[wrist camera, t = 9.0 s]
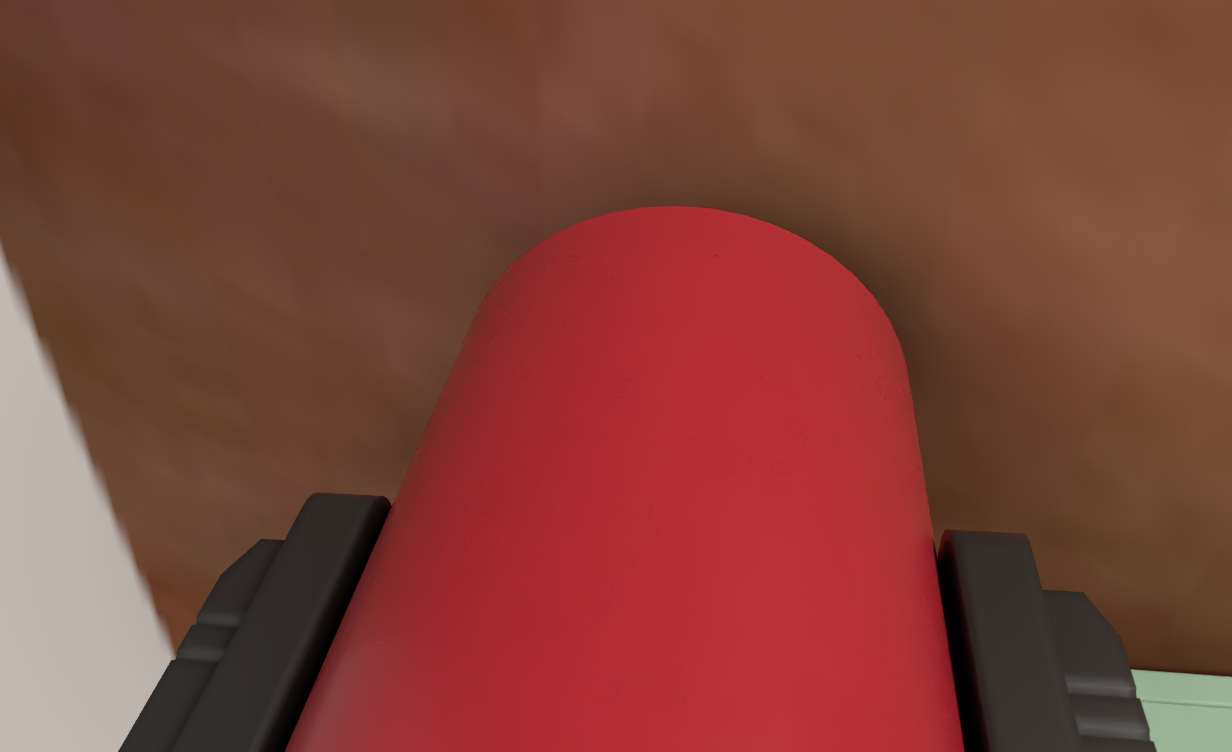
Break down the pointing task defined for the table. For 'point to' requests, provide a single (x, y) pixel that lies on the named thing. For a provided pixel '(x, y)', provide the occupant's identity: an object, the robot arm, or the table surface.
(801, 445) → the can
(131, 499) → the table surface
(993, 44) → the table surface
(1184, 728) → the open box
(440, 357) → the table surface
